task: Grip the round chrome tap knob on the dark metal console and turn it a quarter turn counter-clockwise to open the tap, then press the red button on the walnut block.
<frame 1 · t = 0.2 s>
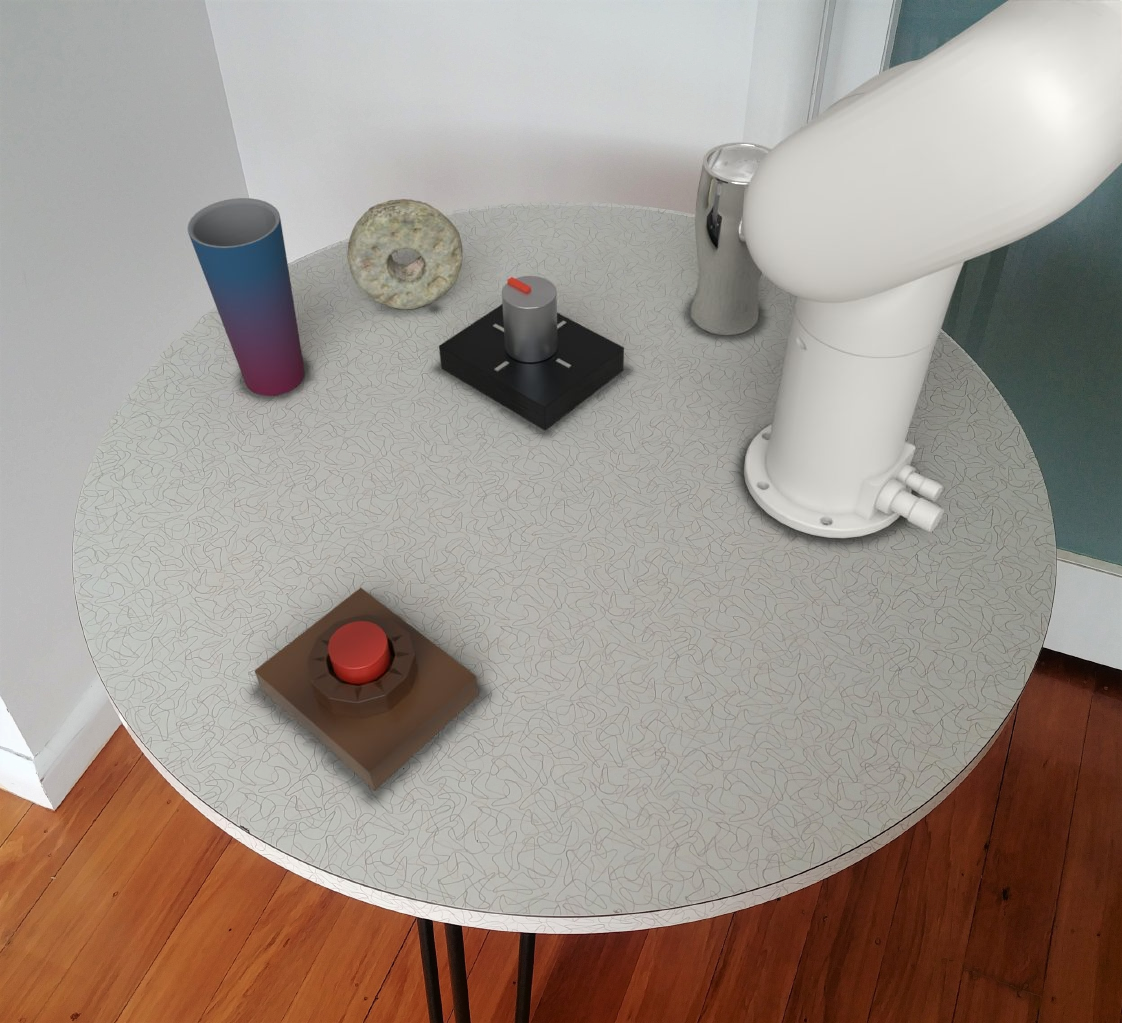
button block: (369, 692, 69), on the table
cup: (275, 378, 91), on the table
start button: (359, 652, 65), point 4 cm above the table, slide at 0.1 cm
stone ring: (411, 303, 98), on the table
tap knob: (530, 318, 87), point 5 cm above the table, hinge at 0.0°
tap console: (532, 369, 91), on the table
beer glass: (723, 317, 96), on the table
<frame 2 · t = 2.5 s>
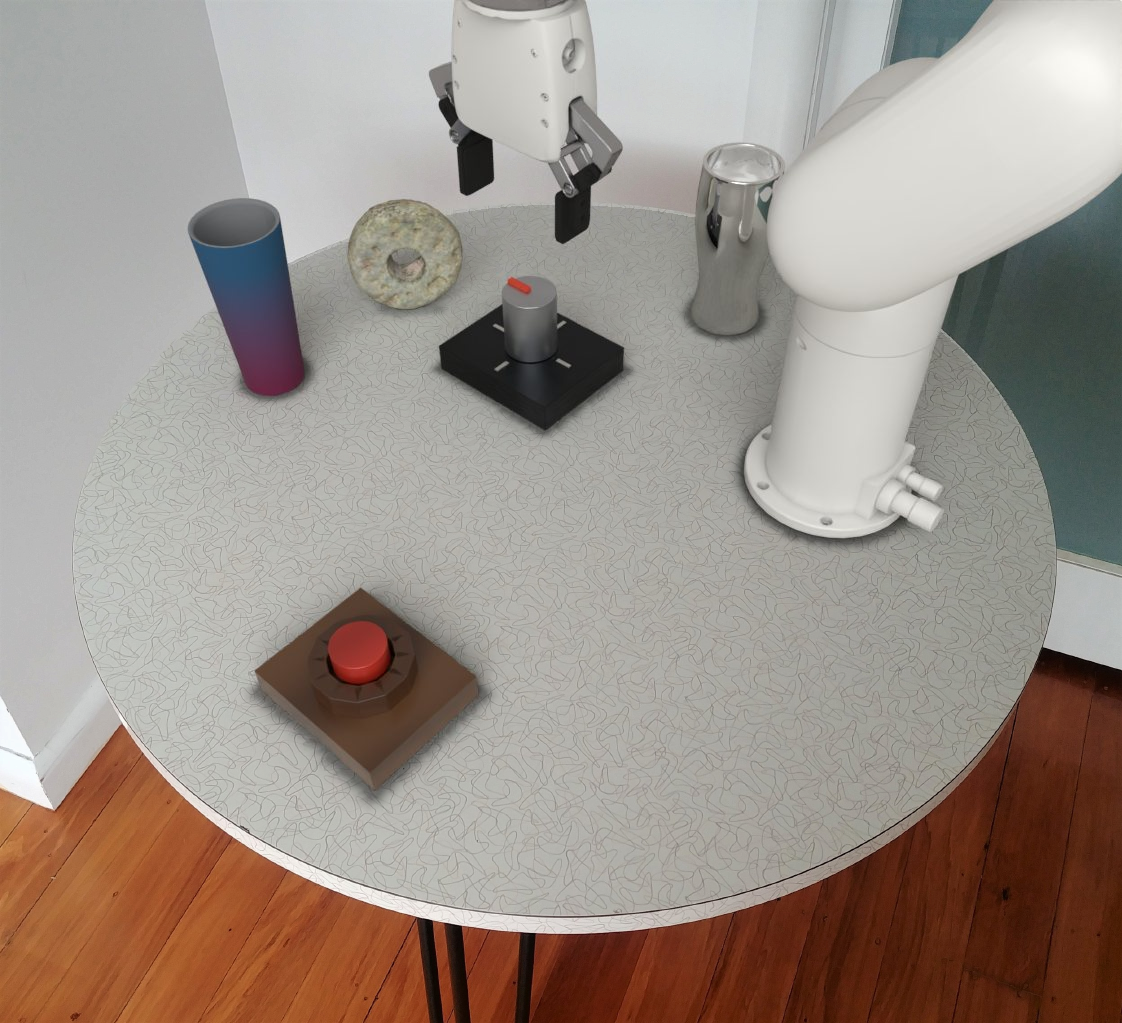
hand: (523, 211, 80), 15 cm above the table, tool pointing down, fingers open, 9 cm apart
nothing on the table moved.
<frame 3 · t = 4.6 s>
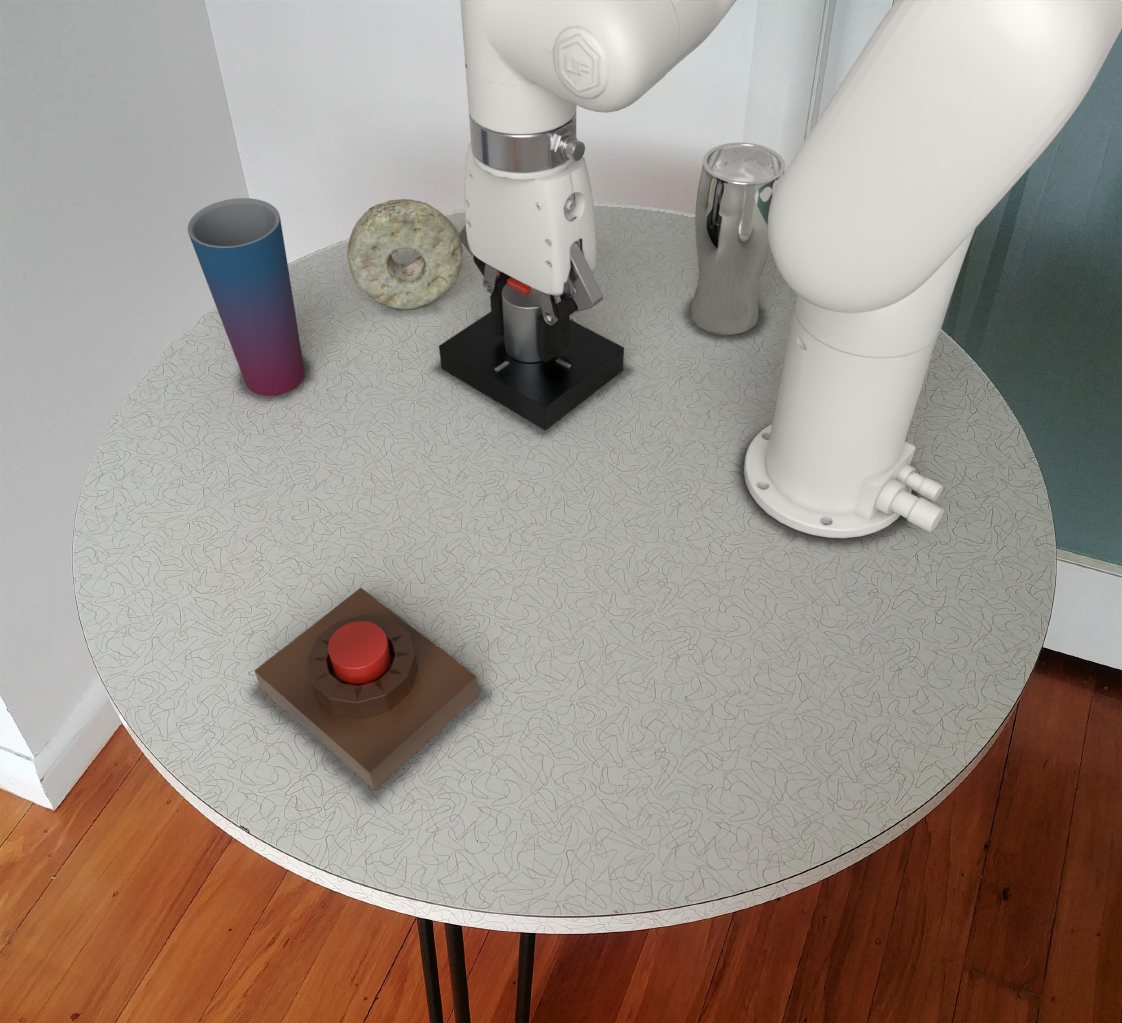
hand: (530, 338, 88), 3 cm above the table, tool pointing down, fingers closed on tap knob, 4 cm apart
tap knob: (530, 318, 87), point 5 cm above the table, hinge at -0.1°, touching gripper
everything else where it was.
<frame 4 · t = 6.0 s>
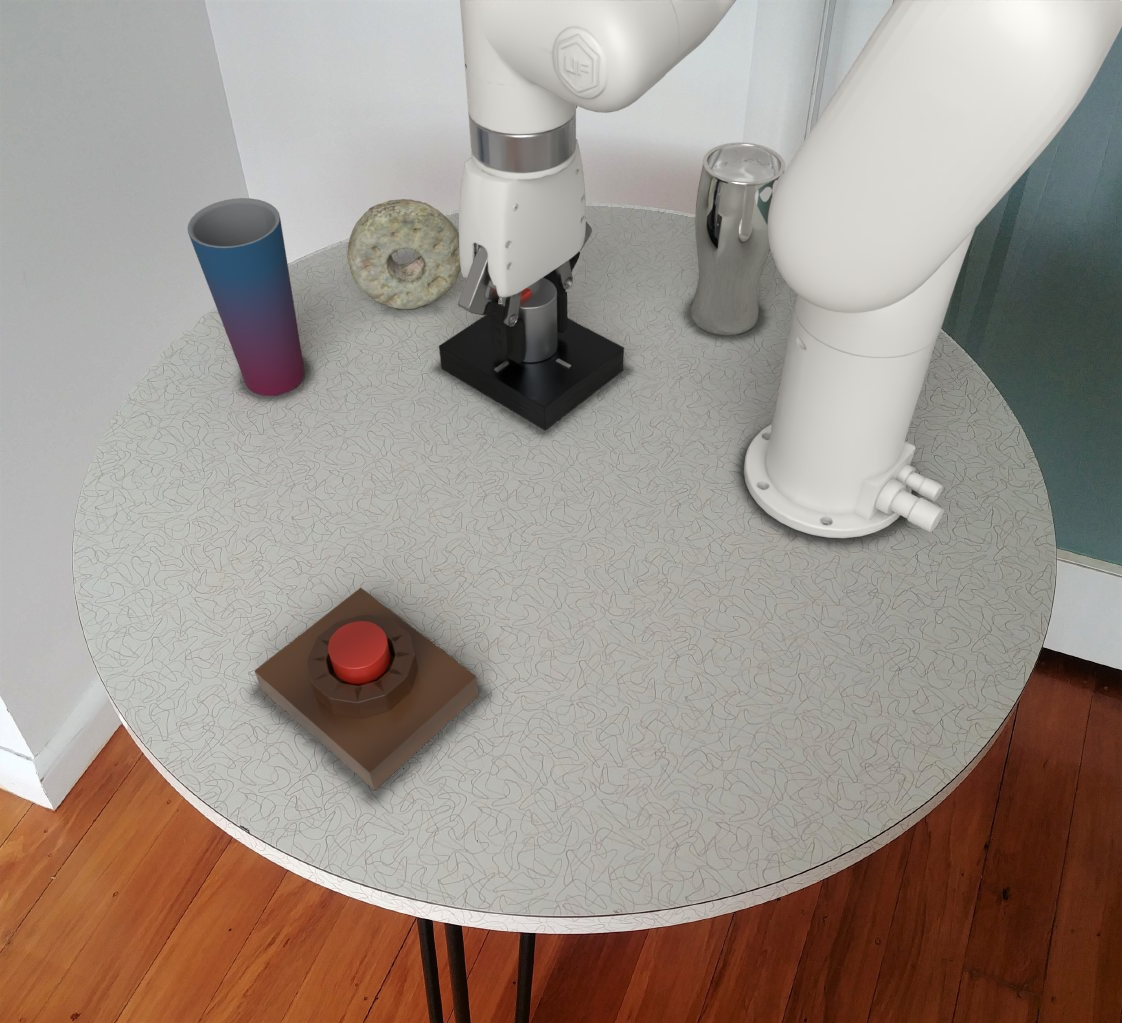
hand: (530, 338, 88), 3 cm above the table, tool pointing down, fingers closed on tap knob, 4 cm apart
tap knob: (530, 318, 87), point 5 cm above the table, hinge at 91.5°, touching gripper
everything else where it was.
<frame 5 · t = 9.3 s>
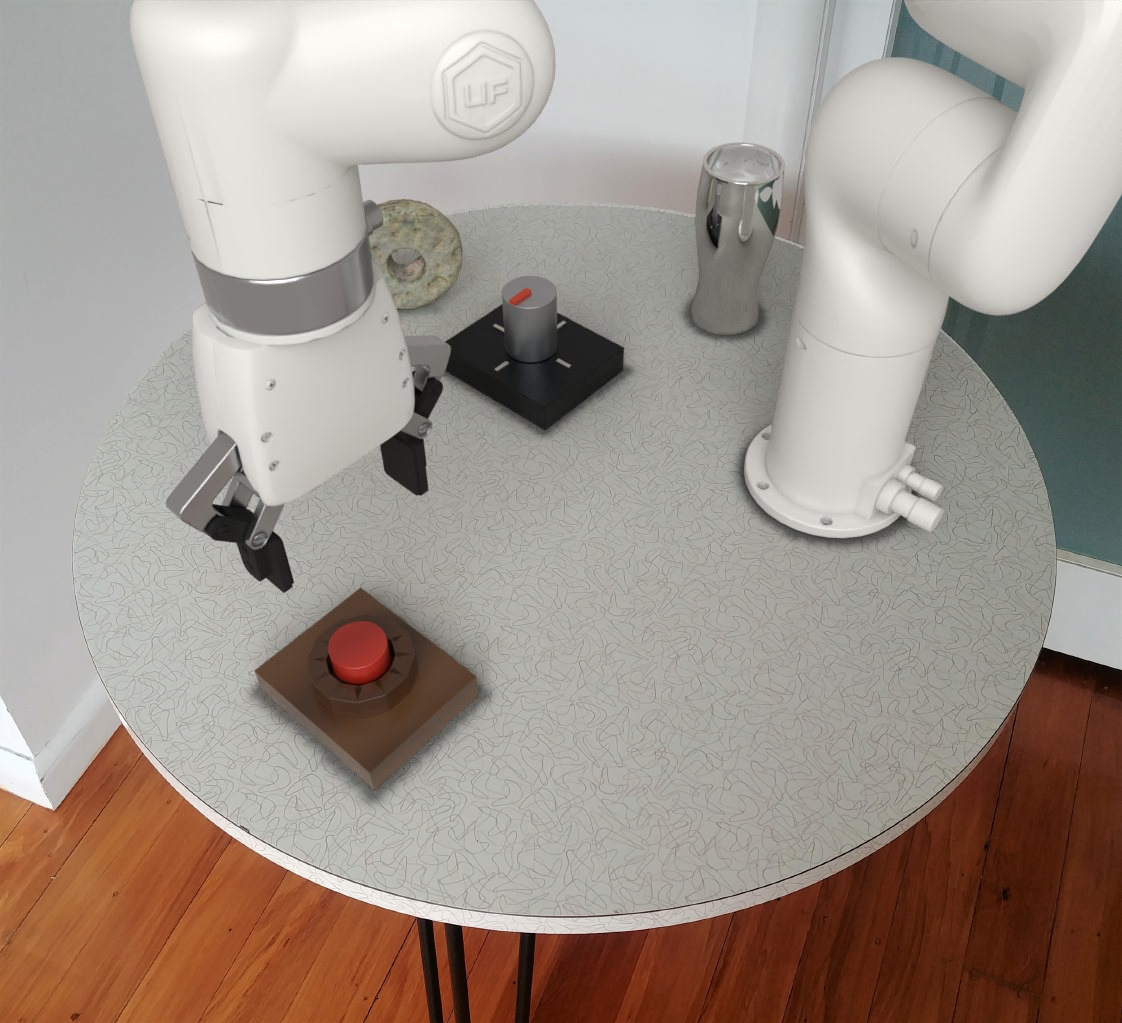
hand: (342, 527, 60), 14 cm above the table, tool pointing down, fingers open, 9 cm apart
tap knob: (530, 318, 87), point 5 cm above the table, hinge at 92.3°
everything else where it was.
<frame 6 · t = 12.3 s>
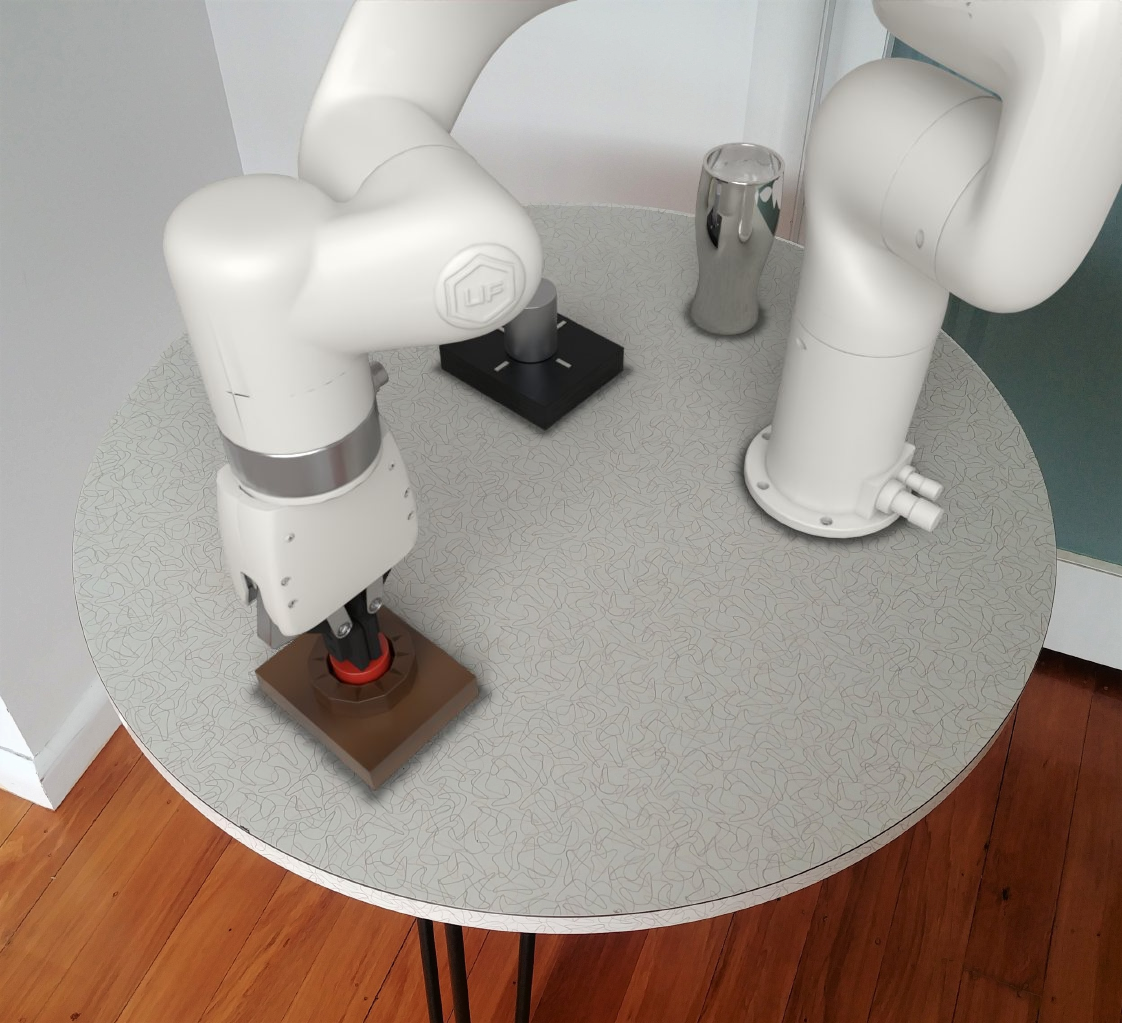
hand: (355, 650, 65), 5 cm above the table, tool pointing down, fingers closed
start button: (361, 658, 66), point 4 cm above the table, slide at -0.5 cm, touching gripper
everything else where it was.
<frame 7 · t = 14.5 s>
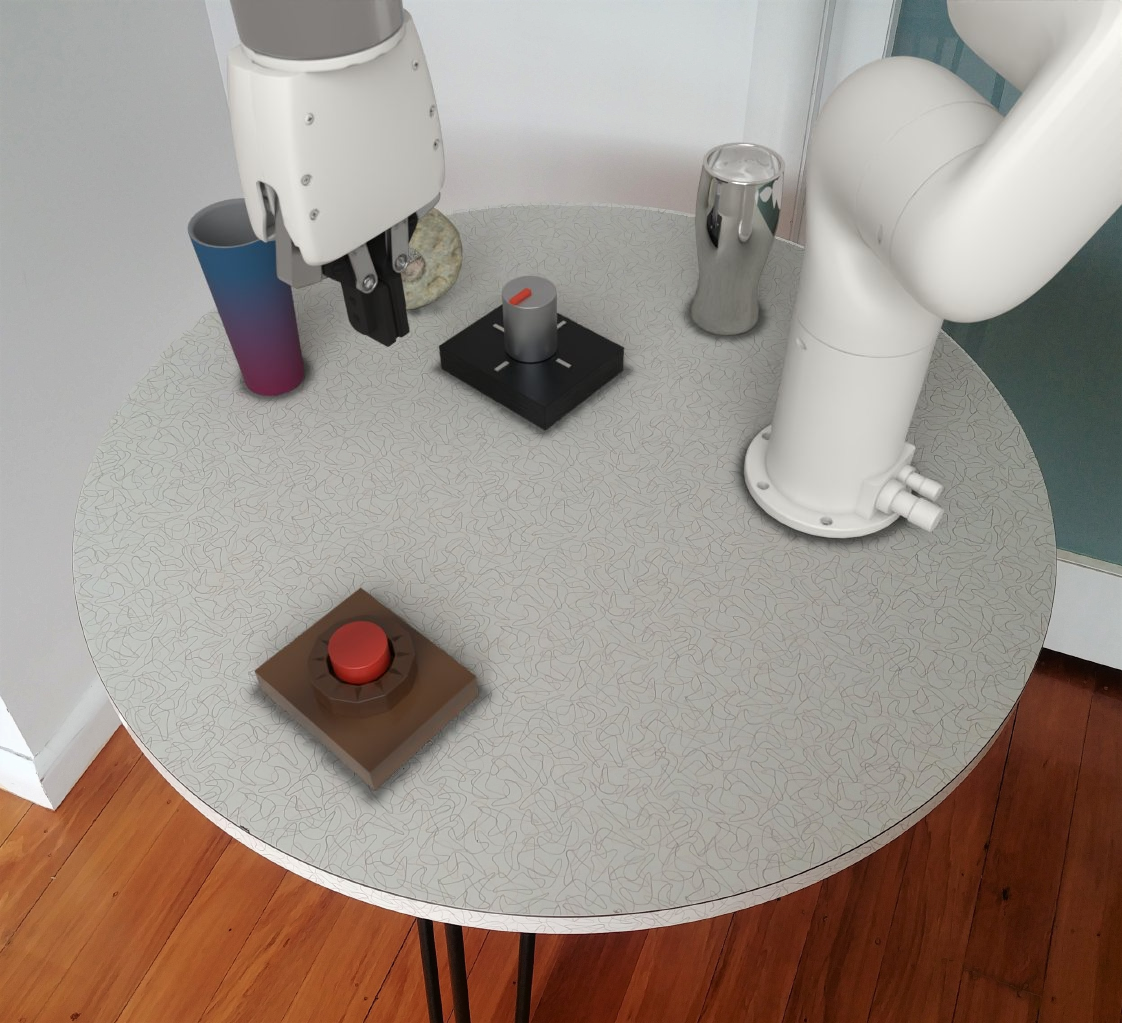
hand: (381, 330, 61), 21 cm above the table, tool pointing down, fingers closed
start button: (359, 652, 65), point 4 cm above the table, slide at 0.1 cm
everything else where it was.
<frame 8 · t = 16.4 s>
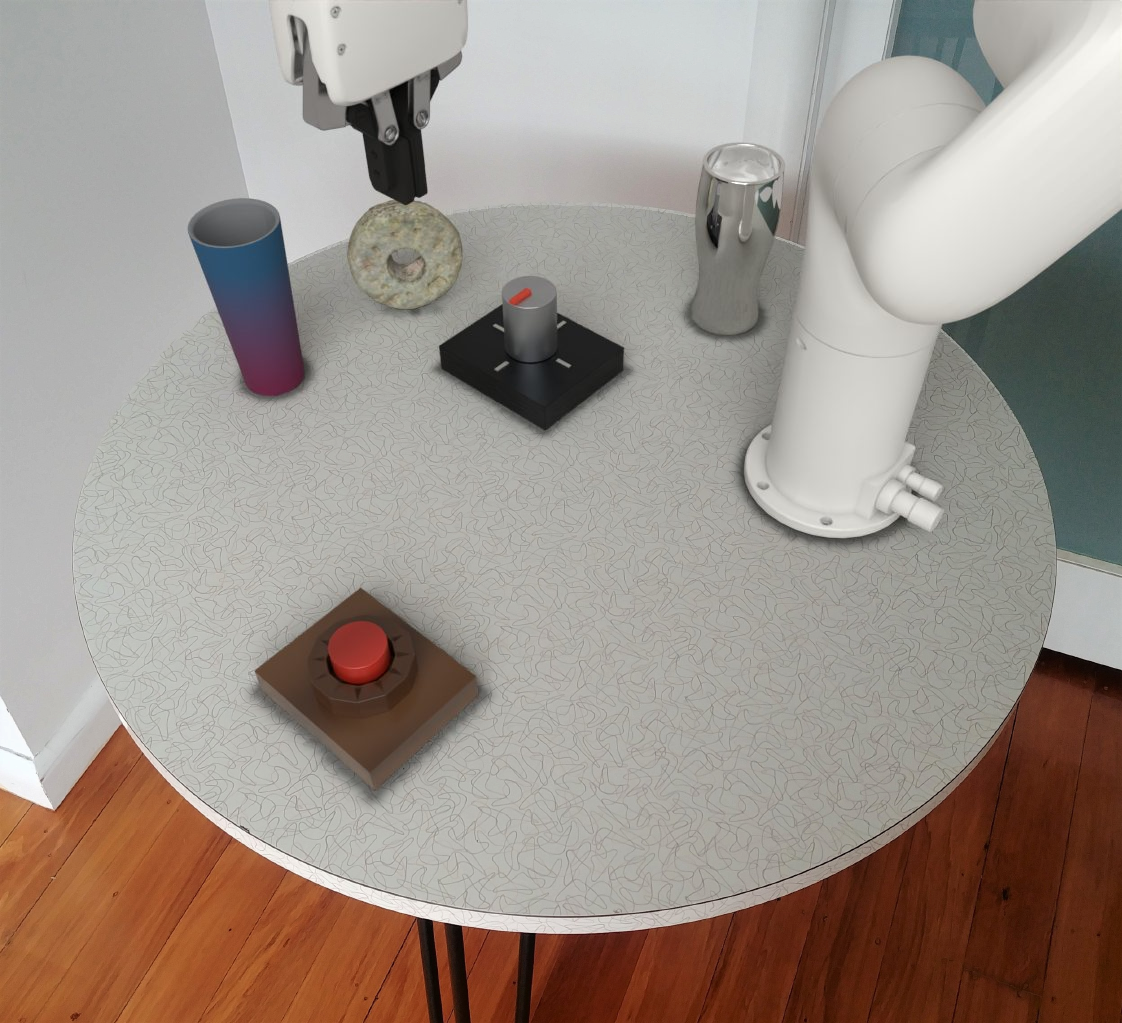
hand: (399, 191, 63), 25 cm above the table, tool pointing down, fingers closed
nothing on the table moved.
at the end: tap knob at +92° (first picture: +0°); start button pushed in 1.1 cm at the most during the clip, back to where it started at the end; start button slide at 0.1 cm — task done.
